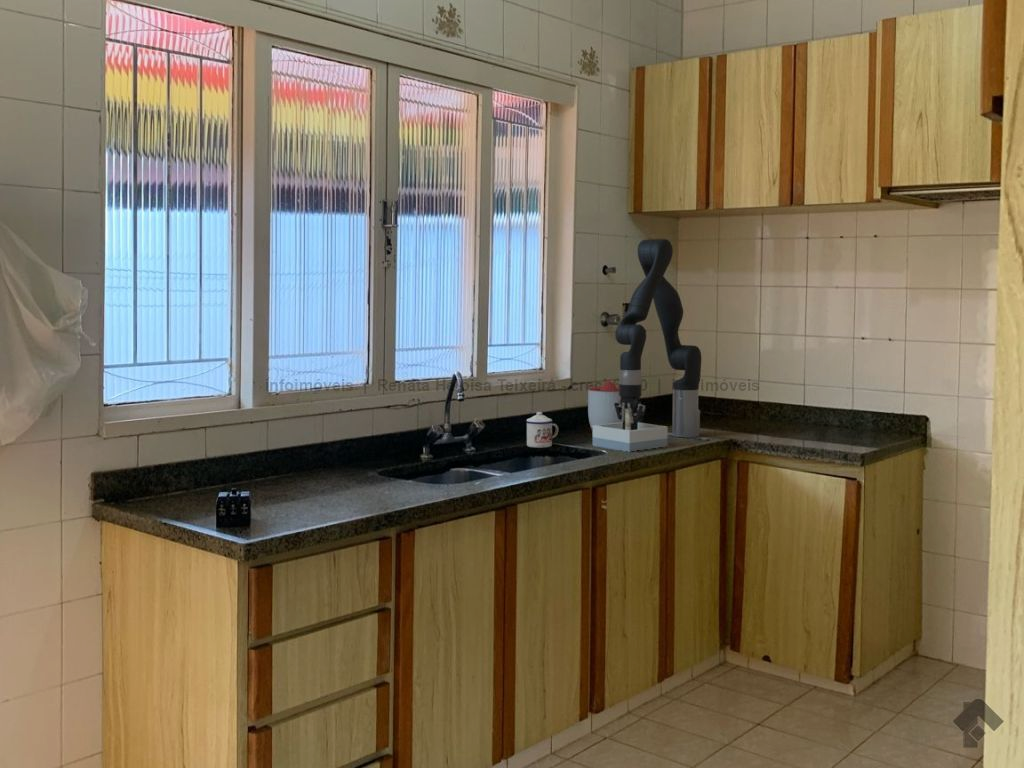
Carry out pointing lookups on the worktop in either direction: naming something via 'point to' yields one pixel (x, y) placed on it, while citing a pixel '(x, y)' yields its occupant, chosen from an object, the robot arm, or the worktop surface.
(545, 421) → the teacup with lid
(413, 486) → the worktop surface
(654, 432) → the box
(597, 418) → the citrus juicer
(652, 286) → the robot arm
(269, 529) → the worktop surface
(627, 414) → the peg
